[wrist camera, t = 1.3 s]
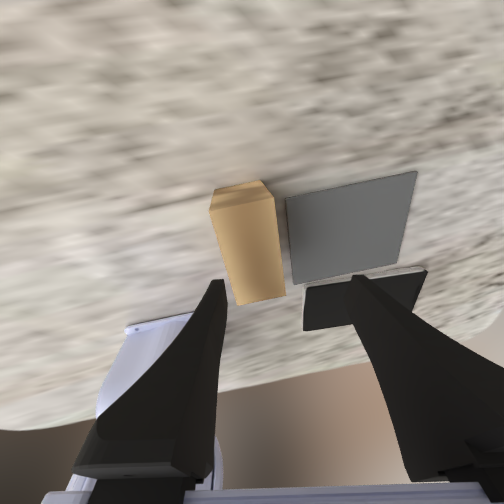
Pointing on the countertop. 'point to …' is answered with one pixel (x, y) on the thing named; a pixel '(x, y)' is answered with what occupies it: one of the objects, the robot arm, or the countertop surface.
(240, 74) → the countertop surface
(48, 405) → the countertop surface
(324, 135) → the countertop surface
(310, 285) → the smartphone
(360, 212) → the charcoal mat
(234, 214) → the oak slab
